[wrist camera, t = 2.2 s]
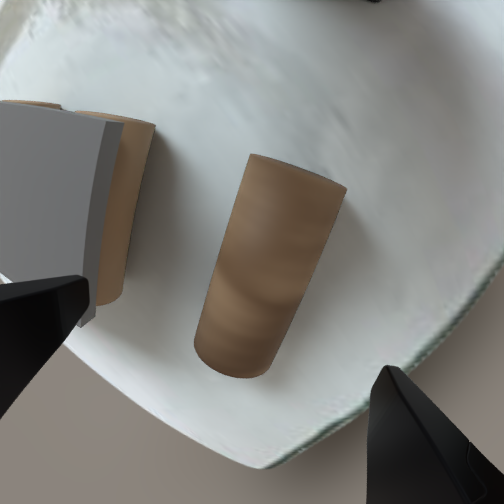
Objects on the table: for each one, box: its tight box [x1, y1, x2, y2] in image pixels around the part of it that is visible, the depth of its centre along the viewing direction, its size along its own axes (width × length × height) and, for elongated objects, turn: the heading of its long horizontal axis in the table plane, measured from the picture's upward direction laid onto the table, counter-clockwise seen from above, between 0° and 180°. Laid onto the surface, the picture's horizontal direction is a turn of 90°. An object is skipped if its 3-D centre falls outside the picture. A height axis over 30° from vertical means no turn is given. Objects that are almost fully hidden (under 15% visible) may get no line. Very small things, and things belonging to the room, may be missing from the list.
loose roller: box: [194, 154, 347, 378], centre depth 13 cm, size 4×9×4 cm, turn 162°
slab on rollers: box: [0, 100, 156, 328], centre depth 14 cm, size 11×9×5 cm
